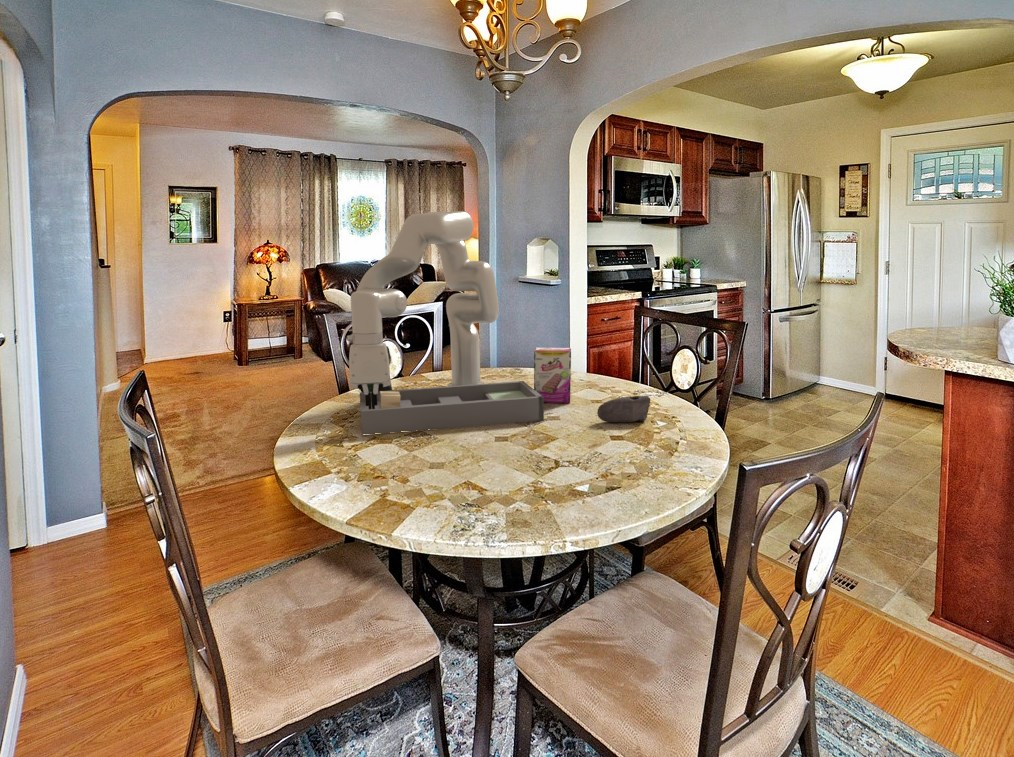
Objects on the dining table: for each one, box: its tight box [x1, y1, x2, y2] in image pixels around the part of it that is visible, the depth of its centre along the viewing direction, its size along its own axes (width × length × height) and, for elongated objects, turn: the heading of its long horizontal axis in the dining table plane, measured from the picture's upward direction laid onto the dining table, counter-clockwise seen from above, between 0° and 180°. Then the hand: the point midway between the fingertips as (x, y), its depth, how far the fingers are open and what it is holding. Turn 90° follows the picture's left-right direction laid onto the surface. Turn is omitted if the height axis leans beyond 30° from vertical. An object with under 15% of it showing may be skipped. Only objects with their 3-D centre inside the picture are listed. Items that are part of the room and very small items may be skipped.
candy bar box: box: [533, 347, 572, 404], centre depth 188 cm, size 11×5×16 cm, turn 84°
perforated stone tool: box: [597, 395, 651, 424], centre depth 167 cm, size 15×5×7 cm, turn 95°
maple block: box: [380, 391, 401, 408], centre depth 165 cm, size 5×5×5 cm
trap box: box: [359, 380, 545, 436], centre depth 174 cm, size 21×48×6 cm, turn 104°
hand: (371, 408), depth 164 cm, fingers closed
